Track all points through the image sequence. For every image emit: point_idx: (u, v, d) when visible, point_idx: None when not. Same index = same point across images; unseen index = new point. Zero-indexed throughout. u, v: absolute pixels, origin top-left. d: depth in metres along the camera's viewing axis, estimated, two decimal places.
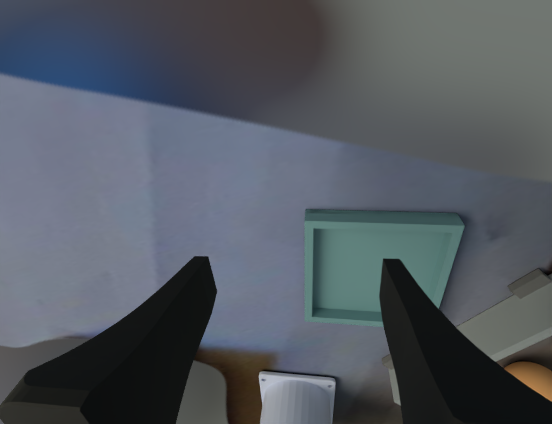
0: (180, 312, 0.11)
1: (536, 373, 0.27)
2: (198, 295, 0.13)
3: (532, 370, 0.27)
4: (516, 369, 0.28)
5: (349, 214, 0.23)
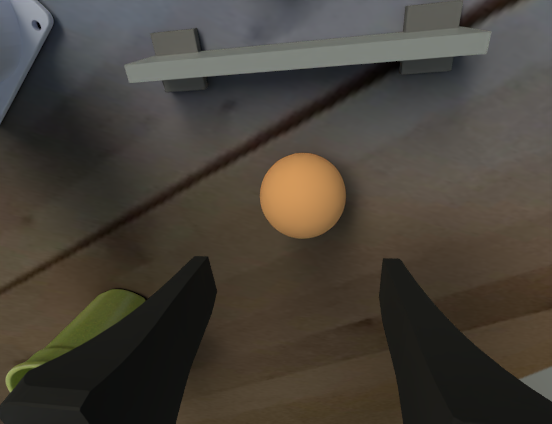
0: (180, 312, 0.11)
1: (331, 164, 0.18)
2: (198, 295, 0.13)
3: (328, 161, 0.19)
4: None
5: None
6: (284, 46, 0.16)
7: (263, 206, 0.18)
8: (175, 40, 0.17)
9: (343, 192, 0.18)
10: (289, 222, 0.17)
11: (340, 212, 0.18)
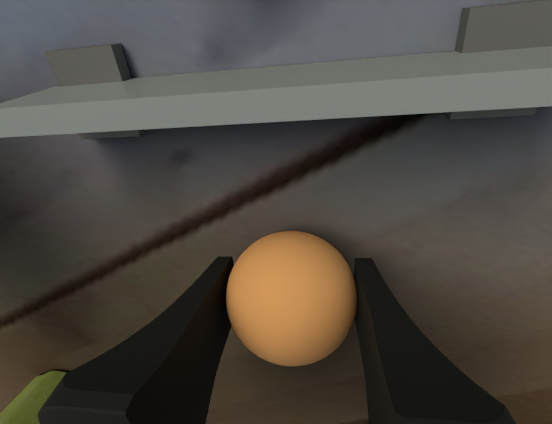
0: (208, 313, 0.11)
1: (335, 254, 0.12)
2: (224, 296, 0.13)
3: (330, 247, 0.12)
4: (304, 234, 0.12)
5: None
6: (256, 76, 0.09)
7: (229, 318, 0.12)
8: (85, 62, 0.11)
9: (354, 300, 0.12)
10: (267, 353, 0.11)
11: (349, 330, 0.12)
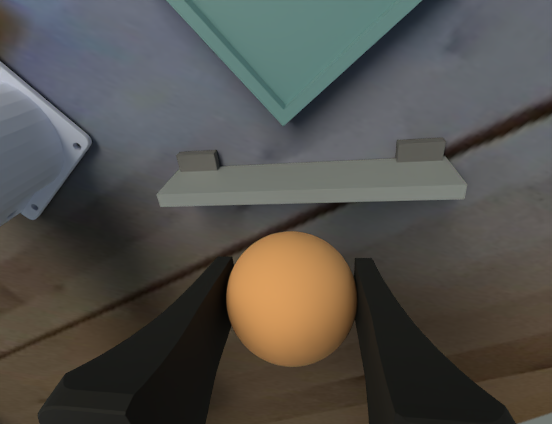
0: (208, 313, 0.11)
1: (335, 254, 0.12)
2: (224, 296, 0.13)
3: (330, 248, 0.12)
4: (304, 235, 0.12)
5: None
6: (293, 175, 0.19)
7: (229, 318, 0.12)
8: (197, 161, 0.20)
9: (354, 300, 0.12)
10: (267, 354, 0.11)
11: (349, 330, 0.12)
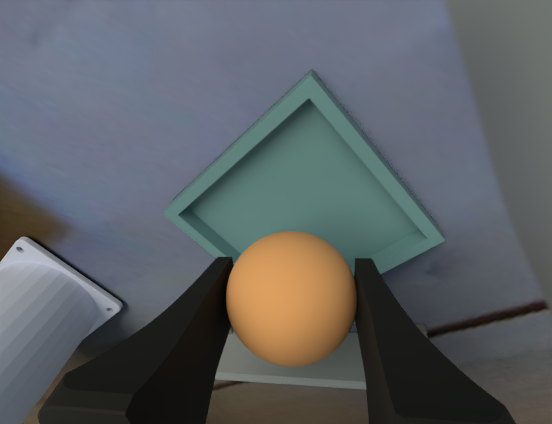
0: (208, 313, 0.11)
1: (335, 254, 0.12)
2: (224, 296, 0.13)
3: (330, 248, 0.12)
4: (304, 234, 0.12)
5: (355, 125, 0.15)
6: None
7: (229, 318, 0.12)
8: None
9: (354, 300, 0.12)
10: (267, 353, 0.11)
11: (349, 330, 0.12)
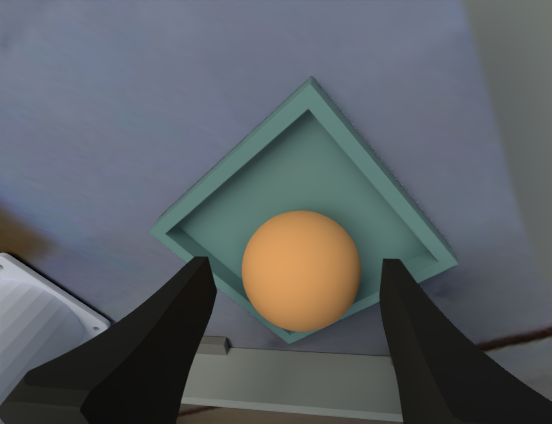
0: (180, 312, 0.11)
1: (339, 226, 0.13)
2: (198, 295, 0.13)
3: (334, 222, 0.13)
4: (310, 212, 0.14)
5: (360, 138, 0.13)
6: (296, 376, 0.20)
7: (248, 293, 0.13)
8: (209, 348, 0.22)
9: (359, 265, 0.13)
10: (289, 319, 0.12)
11: (357, 293, 0.13)
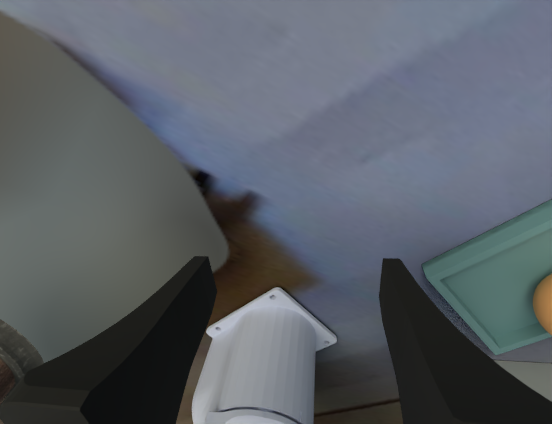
0: (180, 312, 0.11)
1: None
2: (198, 295, 0.13)
3: None
4: None
5: None
6: None
7: None
8: None
9: None
10: None
11: None
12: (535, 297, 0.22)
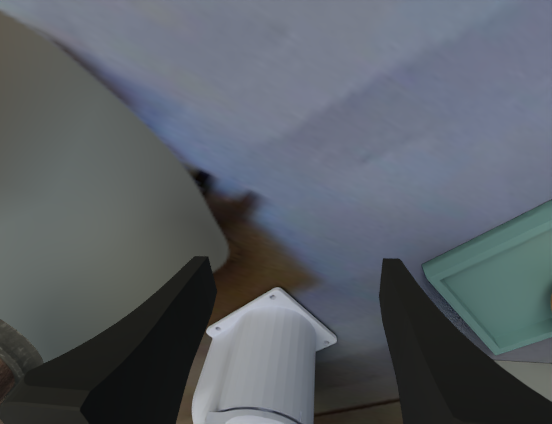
0: (180, 312, 0.11)
1: None
2: (198, 295, 0.13)
3: None
4: None
5: None
6: None
7: None
8: None
9: None
10: None
11: None
12: None
